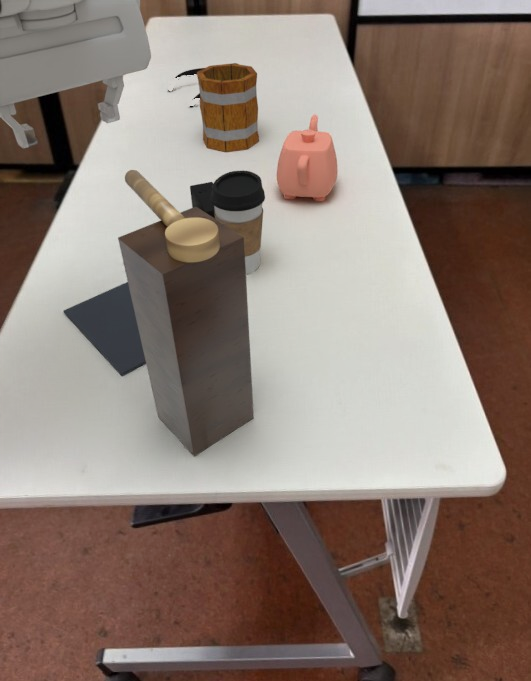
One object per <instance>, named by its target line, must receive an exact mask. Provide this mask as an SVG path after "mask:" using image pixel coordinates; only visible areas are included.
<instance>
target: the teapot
mask: <svg viewBox="0 0 531 681" xmlns="http://www.w3.org/2000/svg"><path fill="white" fill-rule="evenodd" d="M318 119H319V117H318V115H317V114H313V115H312V116H311V117H310V120H309V121H310V122H309V127H308V129H304V130H292V131H291V132H289V134H288V135H287V136H286V137H285V139H284V141H283V145H282V147H281V150H280V153H279V156H278V160H277V167H276V184H277V187H278V189H279V191H280V193H281V194H282V195H284V196H283V197H284V199H286V200H294V199H296V198H297V197H300V198H303V197H304V198H313V200H314V201H315V202H324V201H326V199H327V198H326V197H327V196H328V195H329V194H330V193H331V191H332V189H333V187H334V186H335V184H336V182H337V179H338V172H339V171H338V170H339V169H338V158H337V154H336V149H335V145H334V141H333V137H332V134H330V133H329V132H327V131H319V129H318Z"/></svg>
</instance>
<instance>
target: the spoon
mask: <svg viewBox="0 0 531 681" xmlns="http://www.w3.org/2000/svg"><path fill="white" fill-rule="evenodd" d="M124 181H125V183H126V184H127V187H129V188H130V189H131V190H132V191H133V193H135V194H136V195H137V196H138V198H139V199H141V201H142V202H143V203H144V204H145V205H146V206H147V207H148V208H149V209H150V210H151V212H153V214H155V216H156V217H157V218H158V219H159V221H162V222H163V223H164V224H165V225H166V226H167V229H166V231H165V238H166V244H167V250H168V254H169V255H170V256H171V257H172V258H173V259H175V260H178V261H181V262H200V261H204V260H207V259H209V258H211V257H213V256H214V255H215V254H216V253H217V252H218V251H219V248H220V242H219V231H218V227H217V225H216V224H215V223H214V222H212V221H211V220H208V219H204V218H185V217H184V216H183V215H182V214H181V212H180V211H179V210H178V209H177V208H176V207H175V205H173V204H171V202H170V201H169V200H168V199H167V198H166V197H165V196H164V195H162V193H160V192H159V190H158V189H157V188H155V186H154V185H153V184H151V182H150V181H148V179H147V178H145V176H144V175H143V174H141V172H139V171H138V170H136V169H130V170H127V172H126V173H125V175H124Z"/></svg>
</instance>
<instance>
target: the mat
mask: <svg viewBox="0 0 531 681" xmlns="http://www.w3.org/2000/svg"><path fill="white" fill-rule="evenodd" d="M62 311H63V314H64V315H65V316H66V317H67V318H68V319H69V321H71V322H72V323H73V325H74V326H75V327H76V328H77V329H78V330H79V331H80V332H81V334H82V335H83V336H84V337H85V338H86V340H88V341H89V342H90V344H92V346H94V348H95V349H96V350H97V351H98V352H99V353H100V354H101V356H102V357H104V359H106V361H108V363H109V364H110V365H111V366H112V368H114V369H115V371H117V372H118V374H119V375H120V376H121V377H123V376H125V375H127V374H129V373H131V372H133V371H135V370H136V369H138V368H140V367H142V366H143V365H146V360H145V356H144V352H143V347H142V343H141V338H140V334H139V329H138V325H137V320H136V316H135V311H134V307H133V303H132V298H131V294H130V289H129V285H128V281H127V282H126V281H125V282H124V283H122V284H119V285H117V286H115V287H113V288H111V289H109V290H106V291H104V292H101V293H99V294H97V295H95V296H93V297H90V298H88V299H85V300H84V301H82V302H79V303H76V304H75V305H73V306H71V307H68V308H65V309H63V310H62Z"/></svg>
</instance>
